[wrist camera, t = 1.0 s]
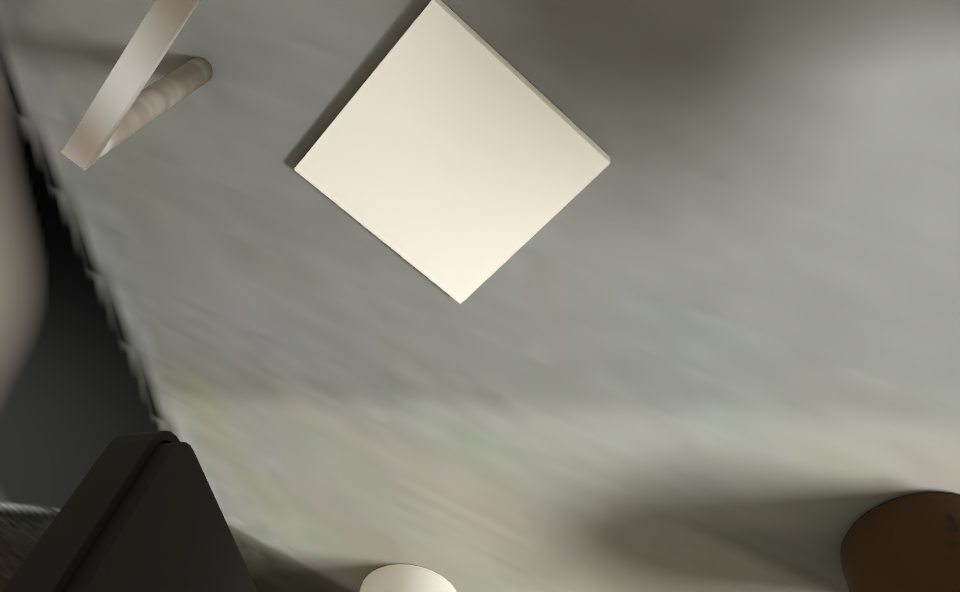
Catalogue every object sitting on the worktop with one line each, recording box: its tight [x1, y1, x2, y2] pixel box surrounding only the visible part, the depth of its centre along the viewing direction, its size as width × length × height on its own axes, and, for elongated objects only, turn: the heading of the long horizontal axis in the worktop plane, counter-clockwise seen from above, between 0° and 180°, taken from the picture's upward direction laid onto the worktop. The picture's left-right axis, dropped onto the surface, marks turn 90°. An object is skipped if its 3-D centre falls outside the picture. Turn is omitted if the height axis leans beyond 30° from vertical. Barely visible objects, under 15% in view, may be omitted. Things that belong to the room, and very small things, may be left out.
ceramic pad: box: [294, 0, 610, 304], centre depth 40 cm, size 11×11×1 cm
